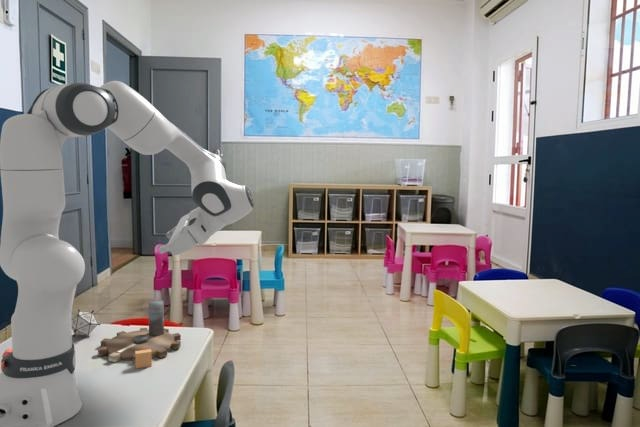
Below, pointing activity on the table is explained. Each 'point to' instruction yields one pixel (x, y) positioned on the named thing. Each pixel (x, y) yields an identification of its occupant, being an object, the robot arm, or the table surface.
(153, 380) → the table surface
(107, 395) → the table surface
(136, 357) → the orange wooden block
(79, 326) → the game die
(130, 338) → the sprocket
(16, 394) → the robot arm
